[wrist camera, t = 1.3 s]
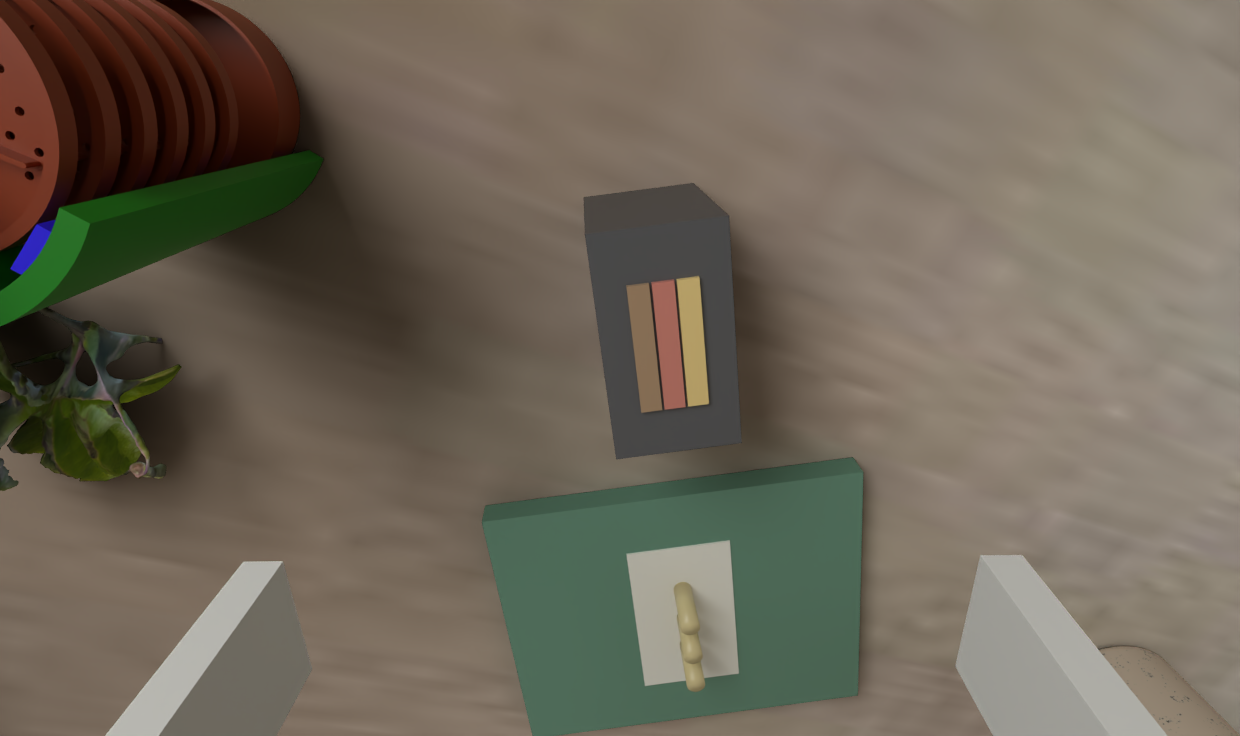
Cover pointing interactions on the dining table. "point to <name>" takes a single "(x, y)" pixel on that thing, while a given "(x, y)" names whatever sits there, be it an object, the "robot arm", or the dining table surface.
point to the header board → (682, 595)
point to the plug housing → (665, 318)
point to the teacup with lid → (1166, 693)
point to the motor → (134, 138)
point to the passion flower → (79, 409)
